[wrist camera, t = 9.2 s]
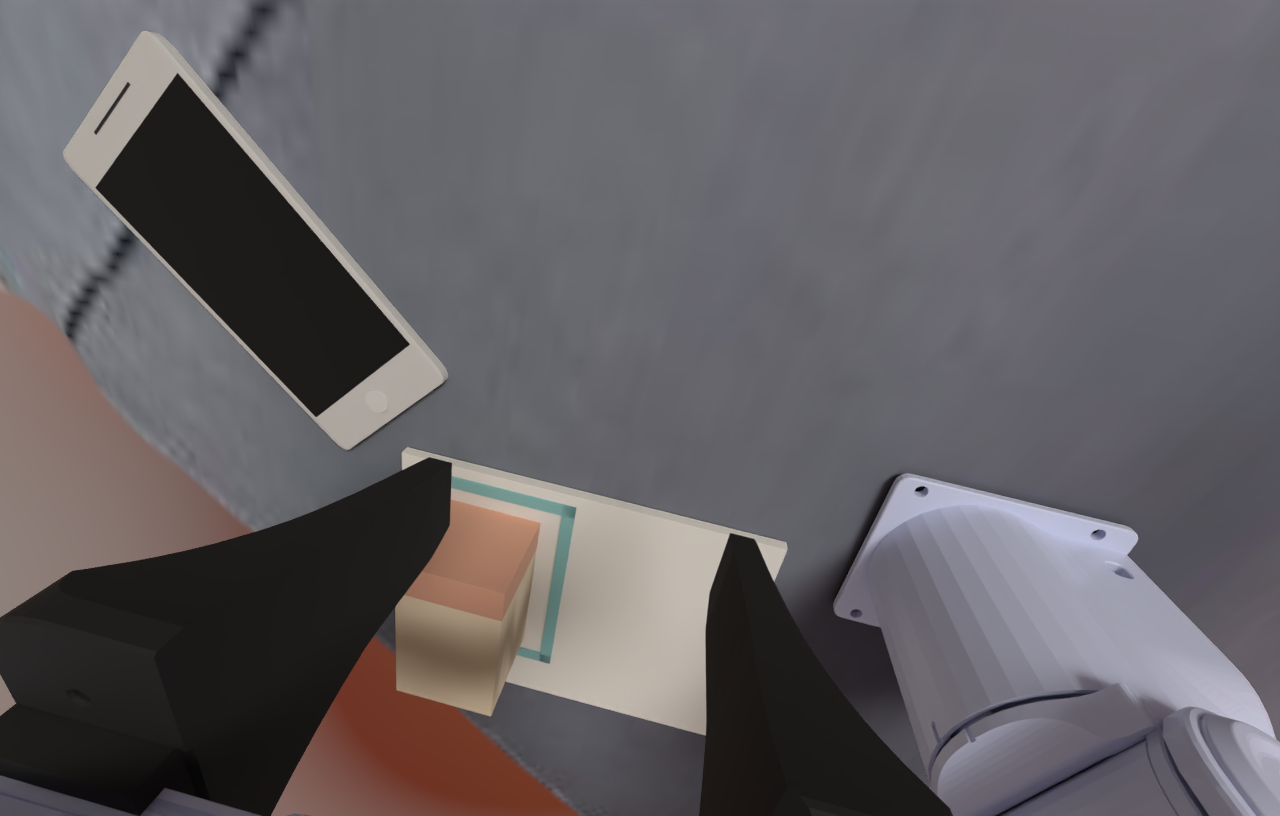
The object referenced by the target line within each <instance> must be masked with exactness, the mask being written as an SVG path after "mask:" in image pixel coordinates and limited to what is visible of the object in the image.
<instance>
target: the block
mask: <svg viewBox="0 0 1280 816" xmlns="http://www.w3.org/2000/svg"><path fill="white" fill-rule="evenodd" d="M540 524H541V523H539V522H535V521H531V520H528V519H524V518H520V517H516V516H512V515H509V514H505V513H501V512H497V511H493V510H489V509H486V508H482V507H478V506H474V505H470V504H467V503H463V502H459V501H455V500H451V507H450V526H449V528H448V530H447V532H446V533H445V535H444V537H443V539H442V541H441V543H440V544H439V546H438V548H437V549H436V551H435V553H434V555H433V556H432V558H431V560H430V561H429V562H428V564H427V565H426V567H425V568H424V569H423V571H422V572H421V573H420V575H419V576H418V577H417V579H416V580H415V581H414V583H413V584H412V585H411V587H410V588H409V589H408V591H407V592H406V593H405V595H404V596H403V597H402V599H401V600H400V601H399V603H398V604H397V605H396V607H395V624H396V686H397V687H396V689H397V690H398V691H402V692H405V693H409V694H412V695H416V696H419V697H423V698H426V699H430V700H434V701H437V702H441V703H444V704H448V705H451V706H455V707H459V708H462V709H466V710H469V711H473V712H477V713H480V714H484V715H487V716H491V715H492V712H493V710H494V708H495V705H496V703H497V700H498V698H499V696H500V693H501V691H502V688H503V686H504V684H505V681H506V679H507V677H508V674H509V672H510V669H511V667H512V665H513V662H514V660H515V657H516V655H517V653H518V650H519V648H520V646H521V643H522V641H523V638H524V633H525V626H526V619H527V612H528V606H529V599H530V592H531V585H532V578H533V571H534V565H535V558H536V551H537V544H538V537H539V530H540Z"/></svg>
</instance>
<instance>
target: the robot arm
mask: <svg viewBox="0 0 1280 816" xmlns="http://www.w3.org/2000/svg"><path fill="white" fill-rule="evenodd" d="M451 479H452V463H451V462H447V461H443V460H439V459H435V458H431V457H429V458H426V459H424V460H422V461H420V462H418V463H416V464H414V465H412V466H410V467H408V468H406V469H404V470H402V471H400V472H398V473H396V474H394V475H392V476H390V477H388V478H386V479H384V480H382V481H380V482H378V483H375V484H373V485H371V486H369V487H367V488H365V489H363V490H361V491H359V492H357V493H355V494H352V495H350V496H348V497H346V498H343V499H341V500H339V501H336V502H334V503H332V504H330V505H327V506H325V507H323V508H320V509H318V510H316V511H313V512H311V513H308V514H306V515H303V516H301V517H298V518H295V519H293V520H290V521H287V522H284V523H281V524H278V525H275V526H272V527H270V528H267V529H263V530H260V531H257V532H253V533H250V534H247V535H243V536H240V537H237V538H233V539H229V540H226V541H222V542H219V543H215V544H211V545H208V546H203V547H199V548H195V549H191V550H187V551H183V552H178V553H173V554H168V555H163V556H159V557H154V558H149V559H143V560H139V561H132V562H126V563H120V564H114V565H108V566H102V567H95V568H90V569H84V570H75V571H72V572H70V573H68V574H67V575H65V576H64V577H62V578H61V579H59V580H58V581H56V582H55V583H53V584H51V585H50V586H48V587H47V588H45V589H44V590H42V591H41V592H39V593H38V594H36V595H34V596H33V597H32V598H30V599H28V600H27V601H25V602H24V603H22V604H21V605H19V606H17V607H16V608H14V609H13V610H11V611H10V612H8V613H7V614H5V615H3V616H2V617H0V675H1V676H2V678H3V680H4V682H5V684H6V685H7V687H8V689H9V691H10V693H11V695H12V697H13V698H14V700H15V702H16V704H15V705H14V706H13V707H11V708H10V709H9V710H7V711H6V712H5V713H4V714H2V715H1V716H0V816H271V814H272V812H273V810H274V808H275V806H276V804H277V802H278V801H279V799H280V797H281V795H282V793H283V791H284V789H285V787H286V785H287V783H288V781H289V779H290V778H291V775H292V773H293V772H294V770H295V768H296V766H297V764H298V762H299V761H300V759H301V757H302V755H303V754H304V752H305V750H306V748H307V746H308V745H309V743H310V741H311V739H312V737H313V735H314V734H315V732H316V730H317V728H318V726H319V725H320V723H321V721H322V719H323V718H324V716H325V714H326V713H327V711H328V709H329V707H330V706H331V704H332V702H333V701H334V699H335V697H336V695H337V694H338V692H339V690H340V688H341V687H342V685H343V683H344V682H345V680H346V679H347V677H348V675H349V673H350V672H351V670H352V669H353V667H354V665H355V664H356V662H357V661H358V659H359V657H360V656H361V654H362V652H363V651H364V649H365V647H366V646H367V644H368V643H369V642H370V640H371V639H372V637H373V636H374V635H375V633H376V632H377V630H378V629H379V628H380V626H381V625H382V624H383V622H384V621H385V620H386V618H387V617H388V616H389V614H390V613H391V612H392V610H393V609H394V608H395V607H396V605H397V604H398V603H399V601H400V600H401V599H402V597H403V596H404V595H405V593H406V592H407V591H408V589H409V588H410V587H411V585H412V584H413V583H414V581H415V580H416V579H417V577H418V576H419V575H420V573H421V572H422V571H423V569H424V568H425V567H426V565H427V564H428V562H429V561H430V560H431V558H432V556H433V555H434V553H435V551H436V549H437V548H438V546H439V544H440V543H441V541H442V539H443V537H444V535H445V533H446V532H447V530H448V528H449V526H450V507H451ZM920 486H925V488H924V489H923V490H922V491H919V492H916V491H915V489H916V488H917V487H920ZM1095 530H1099V531H1097V532H1096V533H1093V534H1091V533H1092V532H1094V531H1095ZM1137 541H1138V535H1137V534H1136V533H1135V532H1134V531H1133V530H1132V529H1131V528H1130V527H1127V526H1125V525H1121V524H1116V523H1112V522H1108V521H1104V520H1100V519H1096V518H1092V517H1087V516H1083V515H1079V514H1075V513H1071V512H1067V511H1063V510H1059V509H1054V508H1050V507H1046V506H1042V505H1038V504H1034V503H1030V502H1026V501H1021V500H1017V499H1013V498H1009V497H1005V496H1001V495H997V494H993V493H988V492H984V491H980V490H976V489H972V488H968V487H964V486H960V485H955V484H951V483H947V482H943V481H939V480H935V479H931V478H927V477H922V476H918V475H914V474H907V473H906V474H902V475H900V476H898V477H897V478H896V479H895V481H894V482H893V484H892V486H891V488H890V490H889V492H888V494H887V496H886V498H885V500H884V502H883V504H882V506H881V508H880V510H879V512H878V514H877V516H876V518H875V520H874V522H873V524H872V526H871V528H870V530H869V532H868V534H867V536H866V538H865V540H864V542H863V544H862V546H861V548H860V550H859V552H858V554H857V556H856V558H855V560H854V562H853V564H852V566H851V568H850V570H849V572H848V574H847V576H846V578H845V580H844V582H843V584H842V586H841V588H840V590H839V592H838V594H837V596H836V598H835V600H834V602H833V608H834V612H835V614H836V615H837V616H839V617H841V618H845V619H849V620H853V621H857V622H861V623H865V624H869V625H872V626H876V627H880V628H881V630H882V633H883V637H884V640H885V643H886V646H887V649H888V652H889V656H890V659H891V662H892V665H893V668H894V672H895V675H896V678H897V681H898V684H899V687H900V691H901V694H902V697H903V700H904V703H905V707H906V710H907V713H908V716H909V719H910V722H911V726H912V729H913V732H914V735H915V738H916V742H917V745H918V748H919V751H920V754H921V757H922V761H923V764H924V767H925V770H926V773H927V777H928V780H929V783H930V787H929V788H928V787H927V786H926V785H925V784H924V783H923V782H922V781H921V780H920V779H919V778H918V777H917V776H916V775H915V774H914V773H913V772H912V771H911V770H910V769H909V768H908V767H907V766H906V765H905V764H904V763H903V762H902V761H901V760H900V759H899V758H898V757H897V756H896V755H895V754H894V753H893V752H892V751H891V750H890V748H889V747H888V746H887V745H886V744H885V743H884V742H883V741H882V740H881V739H880V738H879V737H878V736H877V734H876V733H875V732H874V731H873V730H872V729H871V728H870V726H869V725H868V724H867V723H866V722H865V721H864V720H863V718H862V717H861V716H860V715H859V713H858V712H857V711H856V710H855V709H854V707H853V706H852V705H851V704H850V702H849V701H848V700H847V699H846V697H845V696H844V695H843V694H842V692H841V691H840V690H839V688H838V687H837V686H836V685H835V683H834V682H833V681H832V679H831V678H830V676H829V675H828V674H827V672H826V671H825V669H824V668H823V666H822V665H821V663H820V662H819V661H818V659H817V658H816V656H815V655H814V653H813V652H812V650H811V648H810V647H809V645H808V644H807V642H806V640H805V638H804V637H803V635H802V633H801V632H800V630H799V628H798V627H797V625H796V623H795V621H794V619H793V618H792V616H791V614H790V612H789V610H788V608H787V606H786V604H785V603H784V601H783V599H782V597H781V595H780V593H779V591H778V589H777V587H776V585H775V583H774V580H773V578H772V576H771V574H770V572H769V570H768V567H767V565H766V563H765V561H764V558H763V556H762V554H761V551H760V549H759V547H758V544H757V542H756V541H755V539H753V538H749V537H745V536H741V535H737V534H733V533H730V535H729V538H728V541H727V543H726V546H725V549H724V552H723V555H722V558H721V561H720V564H719V567H718V569H717V572H716V575H715V578H714V581H713V584H712V587H711V590H710V593H709V602H708V610H707V620H706V630H705V649H706V744H705V756H704V768H703V780H702V791H701V802H700V813H699V816H1280V742H1279V741H1277V740H1276V738H1275V735H1274V731H1273V728H1272V725H1271V722H1270V720H1269V717H1268V714H1267V712H1266V710H1265V708H1264V706H1263V704H1262V702H1261V700H1260V698H1259V696H1258V695H1257V693H1256V692H1255V690H1254V689H1253V687H1252V686H1251V685H1250V683H1249V682H1248V681H1247V679H1246V678H1245V677H1244V676H1243V674H1242V673H1241V672H1240V671H1239V670H1238V669H1237V668H1236V667H1235V666H1234V665H1233V664H1232V663H1231V662H1230V661H1229V660H1228V659H1227V658H1226V656H1225V655H1224V654H1223V653H1222V652H1221V651H1220V650H1219V649H1218V648H1217V647H1216V646H1215V645H1214V644H1213V643H1212V642H1211V641H1210V640H1209V639H1208V638H1207V637H1206V636H1205V635H1204V634H1203V633H1202V632H1201V631H1200V630H1199V629H1198V628H1197V627H1196V626H1195V625H1194V624H1193V623H1192V622H1191V621H1190V619H1189V618H1188V617H1187V616H1186V615H1185V614H1184V613H1183V612H1182V611H1181V610H1180V609H1179V608H1178V607H1177V606H1176V605H1175V604H1174V603H1173V602H1172V601H1171V600H1170V599H1169V598H1168V597H1167V596H1166V595H1165V594H1164V593H1163V592H1162V591H1161V590H1160V589H1159V588H1158V587H1157V586H1156V585H1155V584H1154V582H1153V581H1152V580H1151V579H1150V578H1149V577H1148V576H1147V575H1146V574H1145V573H1144V572H1143V571H1142V570H1141V569H1140V568H1139V567H1138V566H1137V565H1136V564H1135V563H1134V562H1133V561H1132V560H1131V559H1130V558H1129V557H1128V556H1127V554H1128V553H1129V552H1130V551H1131V549H1132V548H1133V547H1134V546H1135V544H1136V543H1137ZM855 609H858V611H852V610H855ZM289 816H307V815H301V814H292V815H289Z"/></svg>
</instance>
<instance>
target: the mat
mask: <svg viewBox="0 0 1280 816" xmlns="http://www.w3.org/2000/svg"><path fill="white" fill-rule="evenodd" d="M429 457H431V458H435V459H439V460H443V461H447V462H451V463H452V479H451V500H455V501H459V502H463V503H467V504H470V505H474V506H478V507H482V508H486V509H489V510H493V511H497V512H501V513H505V514H509V515H512V516H516V517H520V518H524V519H528V520H531V521H535V522H539V523H541V524H540V530H539V537H538V544H537V551H536V558H535V565H534V571H533V578H532V585H531V592H530V599H529V606H528V612H527V619H526V626H525V633H524V638H523V641H522V643H521V646H520V648H519V650H518V653H517V655H516V657H515V660H514V662H513V665H512V667H511V669H510V672H509V674H508V677H507V679H506V681H505V682H509V683H513V684H516V685H520V686H524V687H528V688H531V689H535V690H539V691H542V692H546V693H550V694H553V695H557V696H561V697H565V698H568V699H572V700H576V701H579V702H583V703H587V704H590V705H594V706H598V707H602V708H605V709H609V710H613V711H616V712H620V713H624V714H627V715H631V716H635V717H639V718H642V719H646V720H650V721H653V722H657V723H661V724H664V725H668V726H672V727H676V728H679V729H683V730H687V731H690V732H694V733H698V734H701V735H705V736H706V649H705V630H706V620H707V610H708V602H709V593H710V590H711V587H712V584H713V581H714V578H715V575H716V572H717V569H718V567H719V564H720V561H721V558H722V555H723V552H724V549H725V546H726V543H727V541H728V538H729V535H730V533H733V534H737V535H741V536H745V537H749V538H753V539H755V541H756V542H757V544H758V547H759V549H760V551H761V554H762V556H763V558H764V561H765V563H766V565H767V567H768V570H769V572H770V574H771V576H772V578H773V580H774V581H775V578H776V576H777V574H778V571H779V569H780V566H781V564H782V562H783V559H784V557H785V554H786V552H787V543H786V542H783V541H779V540H775V539H771V538H767V537H763V536H759V535H755V534H751V533H747V532H743V531H739V530H735V529H731V528H727V527H723V526H719V525H715V524H711V523H707V522H703V521H699V520H695V519H691V518H687V517H683V516H679V515H675V514H671V513H668V512H664V511H660V510H656V509H652V508H648V507H644V506H640V505H636V504H632V503H628V502H624V501H620V500H616V499H612V498H608V497H604V496H600V495H596V494H592V493H588V492H584V491H580V490H576V489H572V488H568V487H564V486H560V485H556V484H552V483H548V482H544V481H540V480H536V479H532V478H528V477H524V476H520V475H516V474H512V473H508V472H504V471H500V470H496V469H492V468H488V467H484V466H480V465H476V464H472V463H468V462H464V461H460V460H456V459H453V458H449V457H445V456H441V455H437V454H433V453H429V452H425V451H421V450H417V449H413V448H409V447H407V448H406V449H405V450H404V451H403V452H402V470H404V469H406V468H408V467H410V466H412V465H414V464H416V463H418V462H420V461H422V460H424V459H426V458H429Z"/></svg>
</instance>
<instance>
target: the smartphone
mask: <svg viewBox="0 0 1280 816" xmlns="http://www.w3.org/2000/svg"><path fill="white" fill-rule="evenodd" d="M63 156H64V158H65V160H66V162H67V163H68V165H69V166H70V168H71V169H72V170H73V171H74V172H75V173H76V174H77V175H78V176H79V177H80V178H81V179H82V180H83V182H84V183H85V184H86V185H87V186H88V187H89V188H90V189H91V190H92V191H93V192H94V193H95V194H96V195H97V196H98V197H99V198H100V199H101V200H102V201H103V202H104V203H105V204H106V205H107V206H108V207H109V208H110V209H111V211H112V212H113V213H114V214H115V215H116V216H117V217H118V218H119V219H120V220H121V221H122V222H123V223H124V224H125V225H126V226H127V227H128V228H129V229H130V230H131V231H132V232H133V233H134V234H135V235H136V236H137V237H138V238H139V240H140V241H141V242H142V243H143V244H144V245H145V246H146V247H147V248H148V249H149V250H150V251H151V252H152V253H153V254H154V255H155V256H156V257H157V258H158V259H159V260H160V261H161V262H162V263H163V264H164V265H165V266H166V267H167V269H168V270H169V271H170V272H171V273H172V274H173V275H174V276H175V277H176V278H177V279H178V280H179V281H180V282H181V283H182V284H183V285H184V286H185V287H186V288H187V289H188V290H189V291H190V292H191V293H192V294H193V295H194V296H195V298H196V299H197V300H198V301H199V302H200V303H201V304H202V305H203V306H204V307H205V308H206V309H207V310H208V311H209V312H210V313H211V314H212V315H213V316H214V317H215V318H216V319H217V320H218V321H219V322H220V323H221V324H222V325H223V327H224V328H225V329H226V330H227V331H228V332H229V333H230V334H231V335H232V336H233V337H234V338H235V339H236V340H237V341H238V342H239V343H240V344H241V345H242V346H243V347H244V348H245V349H246V350H247V351H248V352H249V353H250V354H251V356H252V357H253V358H254V359H255V360H256V361H257V362H258V363H259V364H260V365H261V366H262V367H263V368H264V369H265V370H266V371H267V372H268V373H269V374H270V375H271V376H272V377H273V378H274V379H275V380H276V381H277V382H278V383H279V385H280V386H281V387H282V388H283V389H284V390H285V391H286V392H287V393H288V394H289V395H290V396H291V397H292V398H293V399H294V400H295V401H296V402H297V403H298V404H299V405H300V406H301V407H302V408H303V409H304V410H305V411H306V412H307V414H308V415H309V416H310V417H311V418H312V419H313V420H314V421H315V422H316V423H317V424H318V425H319V426H320V427H321V428H322V429H323V430H324V431H325V432H326V433H327V434H328V435H329V436H330V437H331V438H332V439H333V440H334V441H335V442H336V443H337V444H338V445H339V446H340V447H342V448H343V449H346V450H349V449H351V448H352V447H354V446H355V445H356V444H358V443H359V442H361V441H362V440H363V439H365V438H366V437H368V436H369V435H370V434H372V433H373V432H375V431H376V430H377V429H379V428H380V427H382V426H383V425H384V424H386V423H387V422H389V421H390V420H391V419H393V418H394V417H396V416H397V415H398V414H400V413H401V412H403V411H404V410H405V409H407V408H408V407H410V406H411V405H413V404H414V403H415V402H417V401H418V400H420V399H421V398H422V397H424V396H425V395H427V394H428V393H429V392H431V391H432V390H434V389H435V388H436V387H438V386H439V385H441V384H442V383H443V382H444V381H446V380H447V379H448V373H447V371H446V369H445V367H444V366H443V364H442V363H441V362H440V361H439V359H438V358H437V357H436V356H435V355H434V354H433V352H432V351H431V350H430V349H429V348H428V346H427V345H426V344H425V343H424V342H423V341H422V339H421V338H420V337H419V336H418V335H417V333H416V332H415V331H414V330H413V329H412V328H411V326H410V325H409V324H408V323H407V322H406V320H405V319H404V318H403V317H402V316H401V315H400V313H399V312H398V311H397V310H396V309H395V307H394V306H393V305H392V304H391V303H390V302H389V300H388V299H387V298H386V297H385V296H384V294H383V293H382V292H381V291H380V290H379V289H378V287H377V286H376V285H375V284H374V283H373V282H372V280H371V279H370V278H369V277H368V276H367V274H366V273H365V272H364V271H363V270H362V269H361V267H360V266H359V265H358V264H357V263H356V261H355V260H354V259H353V258H352V257H351V256H350V254H349V253H348V252H347V251H346V250H345V248H344V247H343V246H342V245H341V244H340V243H339V241H338V240H337V239H336V238H335V237H334V235H333V234H332V233H331V232H330V231H329V230H328V228H327V227H326V226H325V225H324V224H323V222H322V221H321V220H320V219H319V218H318V217H317V215H316V214H315V213H314V212H313V211H312V209H311V208H310V207H309V206H308V205H307V204H306V202H305V201H304V200H303V199H302V198H301V197H300V195H299V194H298V193H297V192H296V191H295V189H294V188H293V187H292V186H291V185H290V184H289V182H288V181H287V180H286V179H285V178H284V176H283V175H282V174H281V173H280V172H279V171H278V169H277V168H276V167H275V166H274V165H273V163H272V162H271V161H270V160H269V159H268V158H267V156H266V155H265V154H264V153H263V152H262V150H261V149H260V148H259V147H258V146H257V145H256V143H255V142H254V141H253V140H252V139H251V137H250V136H249V135H248V134H247V133H246V132H245V130H244V129H243V128H242V127H241V126H240V124H239V123H238V122H237V121H236V120H235V119H234V117H233V116H232V115H231V114H230V113H229V112H228V110H227V109H226V108H225V107H224V106H223V104H222V103H221V102H220V101H219V100H218V99H217V97H216V96H215V95H214V94H213V93H212V91H211V90H210V89H209V88H208V87H207V86H206V84H205V83H204V82H203V81H202V80H201V78H200V77H199V76H198V75H197V74H196V73H195V71H194V70H193V69H192V68H191V67H190V65H189V64H188V63H187V62H186V61H185V60H184V58H183V57H182V56H181V55H180V54H179V52H178V51H177V50H176V49H175V48H174V47H173V46H172V45H171V43H170V42H169V41H168V40H167V39H165V38H164V37H163V36H161V35H159V34H157V33H153V32H148V31H143V32H141V34H140V35H139V37H138V38H137V40H136V41H135V43H134V44H133V46H132V47H131V49H130V50H129V52H128V53H127V55H126V57H125V58H124V60H123V61H122V63H121V64H120V66H119V67H118V69H117V70H116V72H115V73H114V75H113V76H112V78H111V79H110V81H109V82H108V84H107V86H106V87H105V89H104V90H103V92H102V93H101V95H100V96H99V98H98V99H97V101H96V102H95V104H94V105H93V107H92V108H91V110H90V111H89V113H88V115H87V116H86V118H85V119H84V121H83V122H82V124H81V125H80V127H79V128H78V130H77V131H76V133H75V134H74V136H73V137H72V139H71V140H70V142H69V144H68V145H67V147H66V148H65V150H64V151H63Z"/></svg>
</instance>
